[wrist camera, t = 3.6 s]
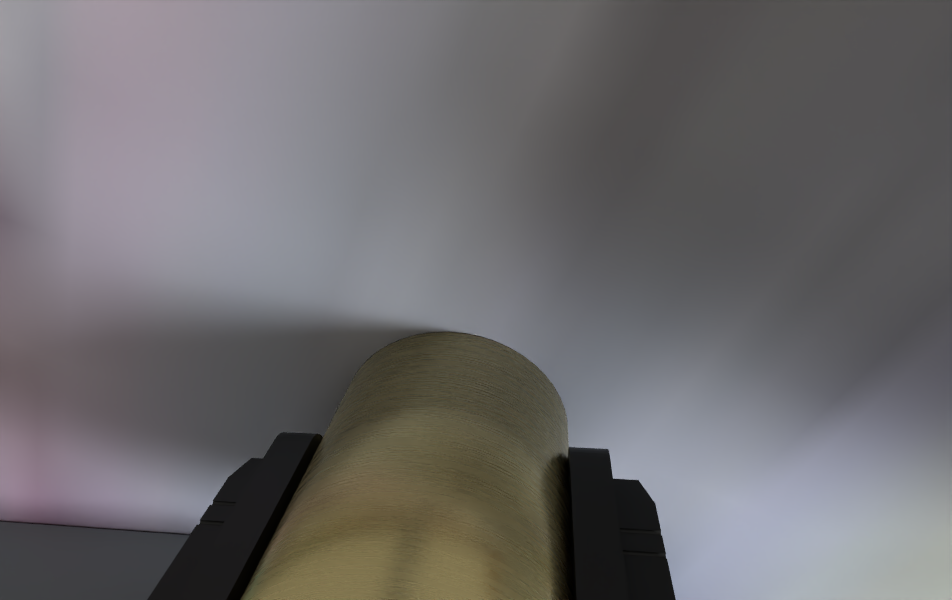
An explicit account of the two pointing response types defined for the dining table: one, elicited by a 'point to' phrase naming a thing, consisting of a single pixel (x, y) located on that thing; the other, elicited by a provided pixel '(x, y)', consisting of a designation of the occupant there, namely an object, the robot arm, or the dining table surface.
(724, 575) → the dining table surface
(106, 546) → the block
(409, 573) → the brass cell
